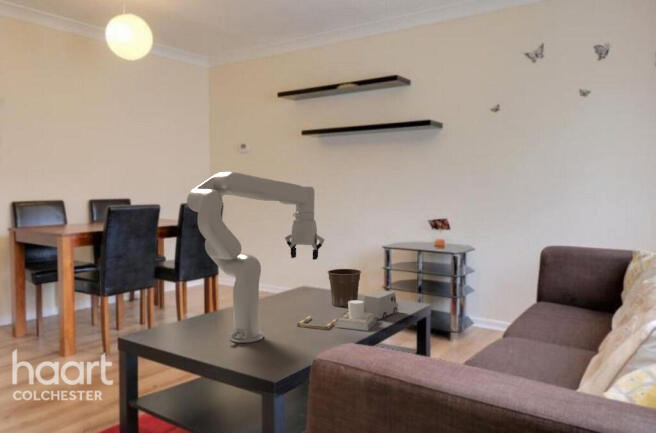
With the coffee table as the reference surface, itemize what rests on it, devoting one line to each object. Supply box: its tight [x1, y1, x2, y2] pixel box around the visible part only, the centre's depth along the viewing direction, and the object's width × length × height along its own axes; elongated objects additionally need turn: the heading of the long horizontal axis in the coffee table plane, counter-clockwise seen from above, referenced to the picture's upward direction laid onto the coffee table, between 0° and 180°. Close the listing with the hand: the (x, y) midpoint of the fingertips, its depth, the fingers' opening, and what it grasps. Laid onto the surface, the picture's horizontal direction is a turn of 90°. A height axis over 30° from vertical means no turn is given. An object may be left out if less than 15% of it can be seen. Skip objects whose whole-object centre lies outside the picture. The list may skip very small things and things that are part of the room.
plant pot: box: [327, 268, 362, 308], centre depth 233 cm, size 16×16×16 cm
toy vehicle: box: [363, 289, 399, 320], centre depth 214 cm, size 9×18×10 cm, turn 144°
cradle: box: [296, 315, 338, 331], centre depth 200 cm, size 12×13×1 cm
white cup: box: [347, 299, 365, 320], centre depth 199 cm, size 7×7×7 cm
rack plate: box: [334, 310, 378, 332], centre depth 200 cm, size 14×14×4 cm
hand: (304, 258), depth 198 cm, fingers open, 9 cm apart
